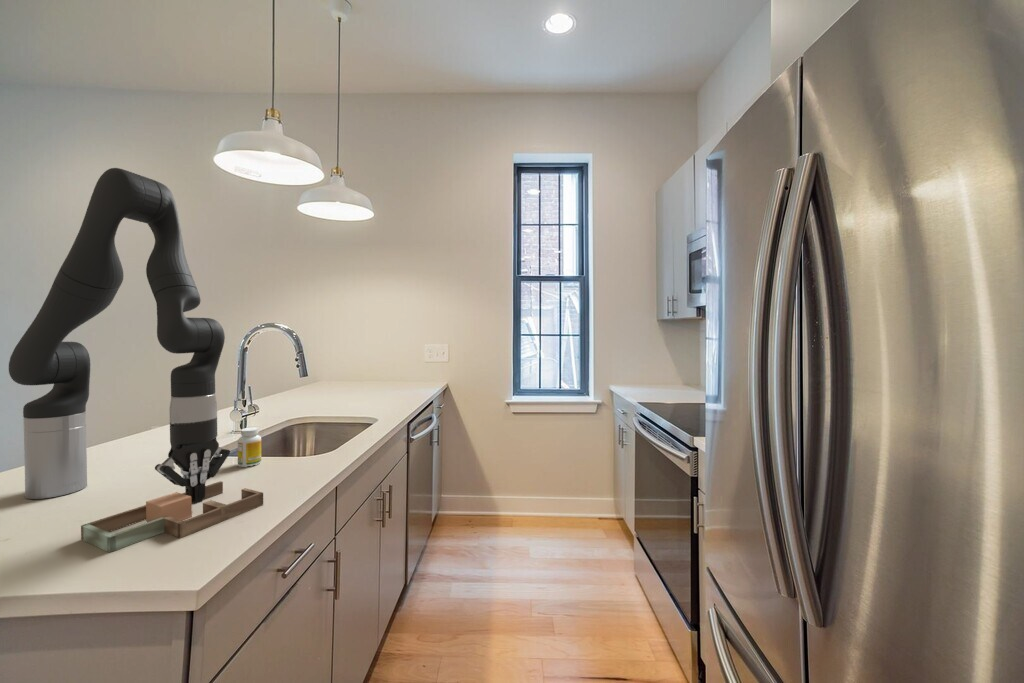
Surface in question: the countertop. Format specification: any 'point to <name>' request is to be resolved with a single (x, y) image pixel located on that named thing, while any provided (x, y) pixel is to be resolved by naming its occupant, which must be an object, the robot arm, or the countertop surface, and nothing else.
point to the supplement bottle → (249, 447)
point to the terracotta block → (169, 507)
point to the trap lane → (166, 520)
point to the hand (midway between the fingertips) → (195, 502)
